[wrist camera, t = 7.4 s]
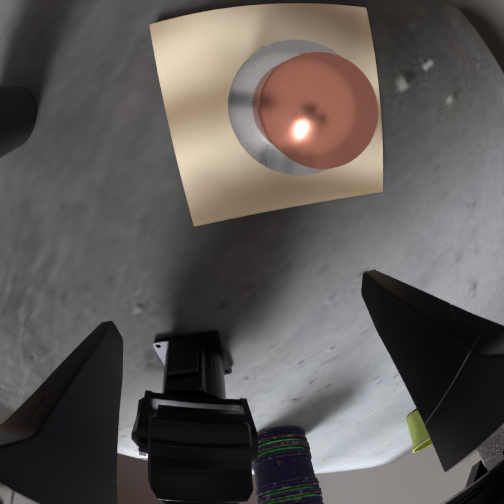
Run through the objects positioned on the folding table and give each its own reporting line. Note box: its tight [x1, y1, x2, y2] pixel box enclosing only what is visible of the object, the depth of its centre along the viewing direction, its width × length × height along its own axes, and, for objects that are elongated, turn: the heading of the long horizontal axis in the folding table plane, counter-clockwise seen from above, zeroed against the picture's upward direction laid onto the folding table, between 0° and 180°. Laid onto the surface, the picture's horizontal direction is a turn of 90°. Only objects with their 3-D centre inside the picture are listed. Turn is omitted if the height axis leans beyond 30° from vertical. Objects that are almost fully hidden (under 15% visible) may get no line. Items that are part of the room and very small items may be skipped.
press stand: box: [150, 3, 383, 226], centre depth 15 cm, size 14×14×4 cm
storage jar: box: [252, 426, 324, 504], centre depth 35 cm, size 10×10×15 cm
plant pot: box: [406, 410, 433, 453], centre depth 44 cm, size 9×9×9 cm
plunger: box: [228, 40, 378, 175], centre depth 13 cm, size 7×7×7 cm
